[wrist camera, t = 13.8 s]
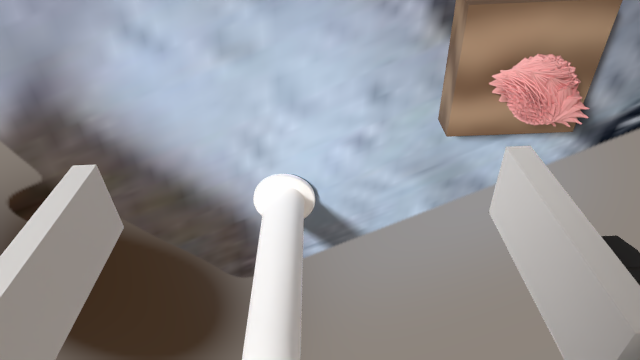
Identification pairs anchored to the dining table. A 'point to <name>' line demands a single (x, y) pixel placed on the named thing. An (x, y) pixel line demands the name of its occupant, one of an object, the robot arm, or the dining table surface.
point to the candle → (278, 269)
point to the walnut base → (516, 56)
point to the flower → (541, 90)
